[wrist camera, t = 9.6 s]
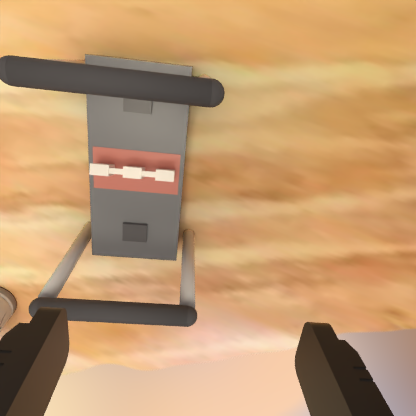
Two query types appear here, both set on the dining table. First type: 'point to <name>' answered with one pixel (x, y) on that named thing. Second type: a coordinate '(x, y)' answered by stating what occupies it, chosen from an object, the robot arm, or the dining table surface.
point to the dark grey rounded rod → (110, 81)
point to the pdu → (134, 188)
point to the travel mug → (6, 306)
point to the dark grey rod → (119, 311)
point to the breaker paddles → (131, 172)
